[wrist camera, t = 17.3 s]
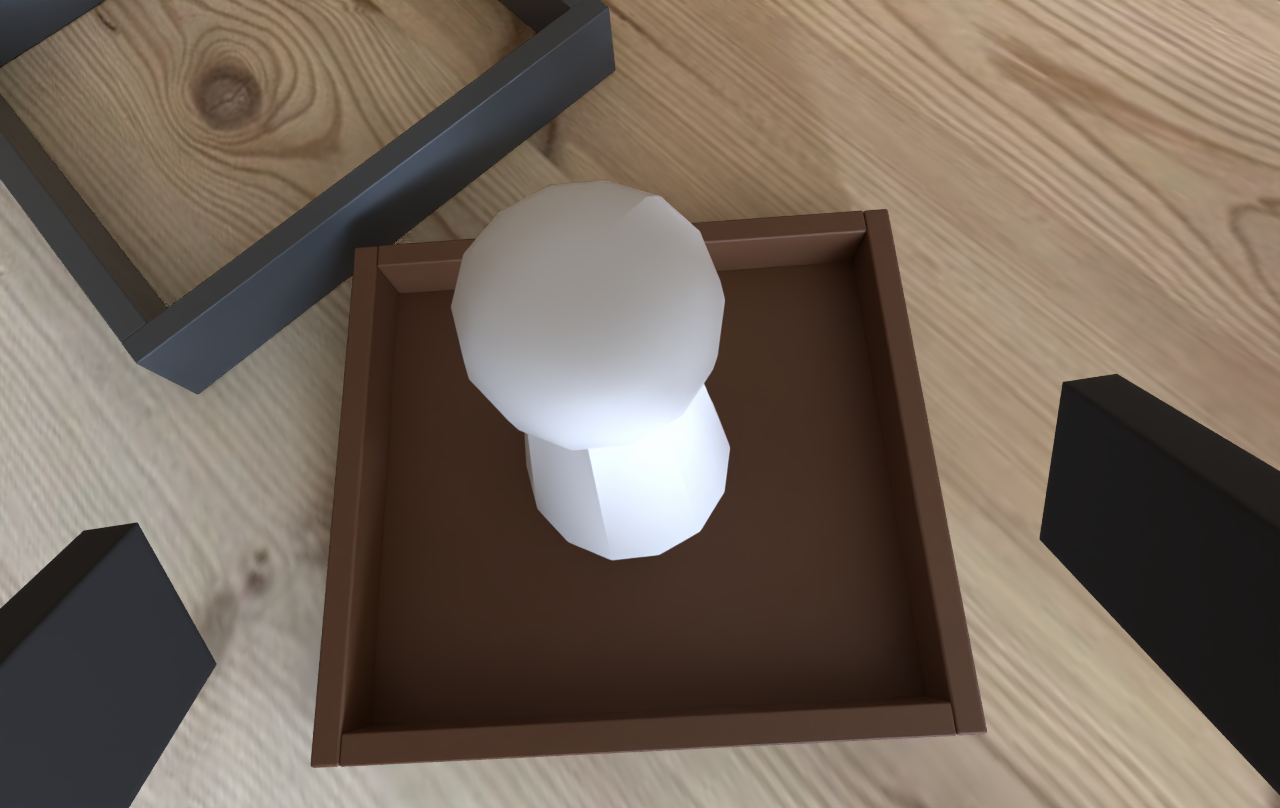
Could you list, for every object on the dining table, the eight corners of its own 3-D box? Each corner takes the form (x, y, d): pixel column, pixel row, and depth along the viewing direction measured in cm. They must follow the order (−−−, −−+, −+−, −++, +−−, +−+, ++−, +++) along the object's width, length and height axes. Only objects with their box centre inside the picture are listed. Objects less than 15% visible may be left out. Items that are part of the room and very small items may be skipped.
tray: (351, 753, 21) (308, 768, 18) (384, 284, 26) (353, 246, 23) (950, 722, 20) (988, 734, 18) (867, 249, 25) (888, 207, 23)
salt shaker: (748, 535, 22) (845, 401, 9) (571, 593, 21) (430, 533, 9) (688, 367, 24) (702, 71, 11) (523, 418, 23) (352, 172, 11)
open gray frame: (198, 395, 25) (135, 363, 22) (-45, 76, 30) (-120, 17, 27) (615, 70, 28) (609, 7, 26) (334, -164, 34) (303, -238, 31)
